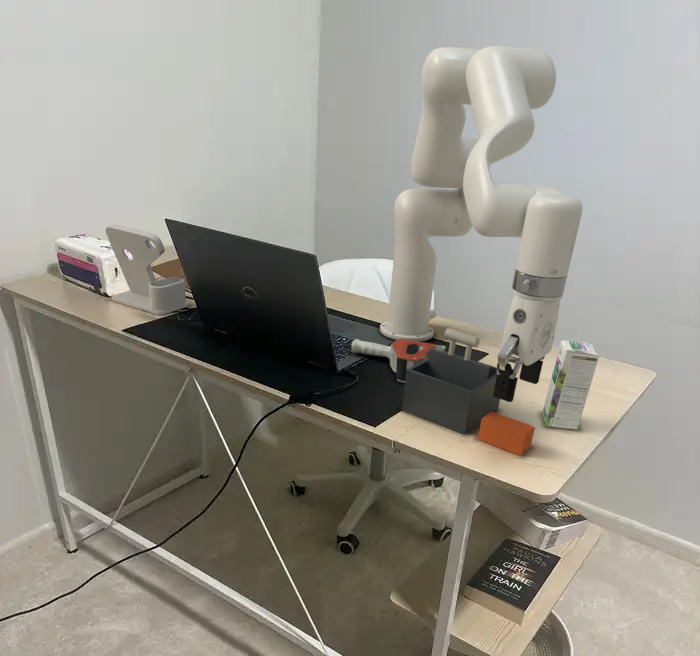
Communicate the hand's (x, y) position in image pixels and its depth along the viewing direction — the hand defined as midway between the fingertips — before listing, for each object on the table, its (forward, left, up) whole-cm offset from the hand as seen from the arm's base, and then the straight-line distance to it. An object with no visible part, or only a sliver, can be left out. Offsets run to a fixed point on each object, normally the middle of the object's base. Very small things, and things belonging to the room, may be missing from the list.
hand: (515, 389), depth 106 cm
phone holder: (-3, -96, -10) cm, 97 cm away
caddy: (-5, -13, -10) cm, 17 cm away
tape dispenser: (-15, -31, -10) cm, 36 cm away
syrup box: (-15, +4, -10) cm, 19 cm away
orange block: (0, 0, -10) cm, 10 cm away
